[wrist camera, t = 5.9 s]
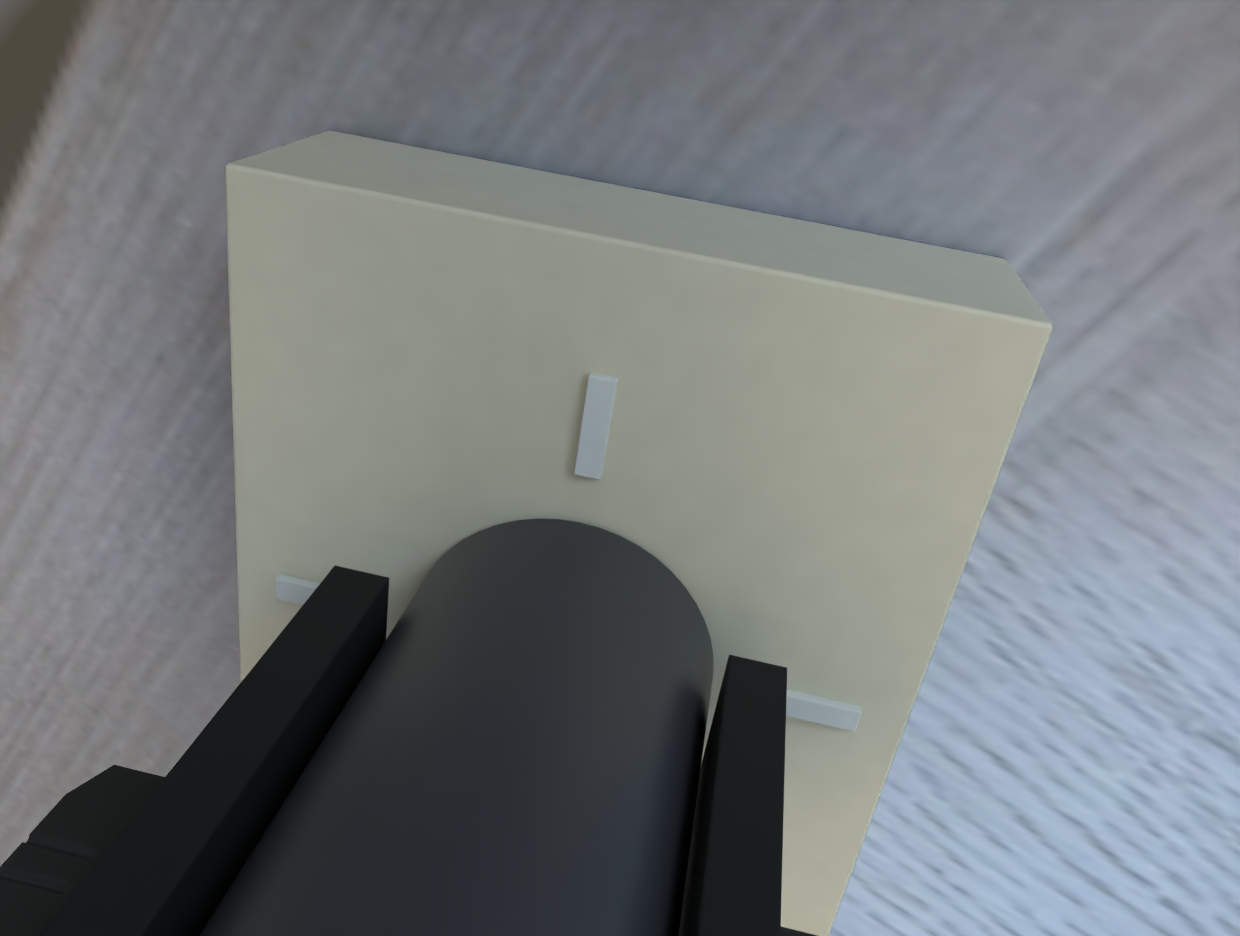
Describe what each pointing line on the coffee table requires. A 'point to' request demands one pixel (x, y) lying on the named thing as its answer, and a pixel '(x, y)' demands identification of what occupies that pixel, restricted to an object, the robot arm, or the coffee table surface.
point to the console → (627, 421)
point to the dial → (502, 757)
